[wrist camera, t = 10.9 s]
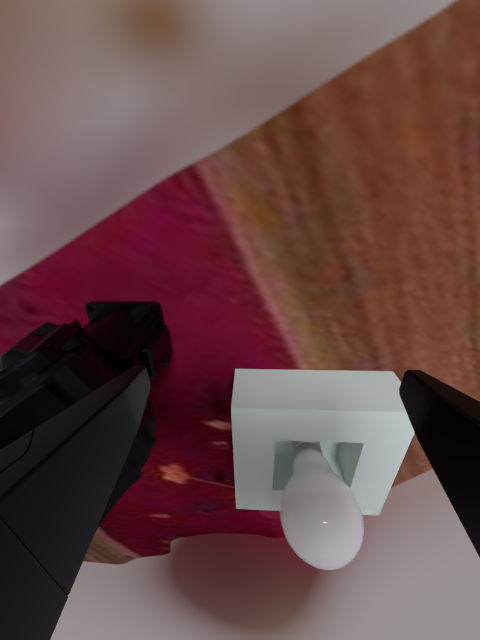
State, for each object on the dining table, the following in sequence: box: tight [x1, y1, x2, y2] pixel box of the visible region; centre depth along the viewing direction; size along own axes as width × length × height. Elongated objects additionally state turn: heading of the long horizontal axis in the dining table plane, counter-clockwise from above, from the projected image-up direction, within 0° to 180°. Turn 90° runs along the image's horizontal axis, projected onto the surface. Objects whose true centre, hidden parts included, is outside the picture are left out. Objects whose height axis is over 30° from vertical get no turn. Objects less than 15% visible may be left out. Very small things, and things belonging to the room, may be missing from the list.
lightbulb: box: [280, 441, 364, 570], centre depth 23 cm, size 6×6×11 cm
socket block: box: [231, 369, 415, 515], centre depth 26 cm, size 15×15×5 cm
